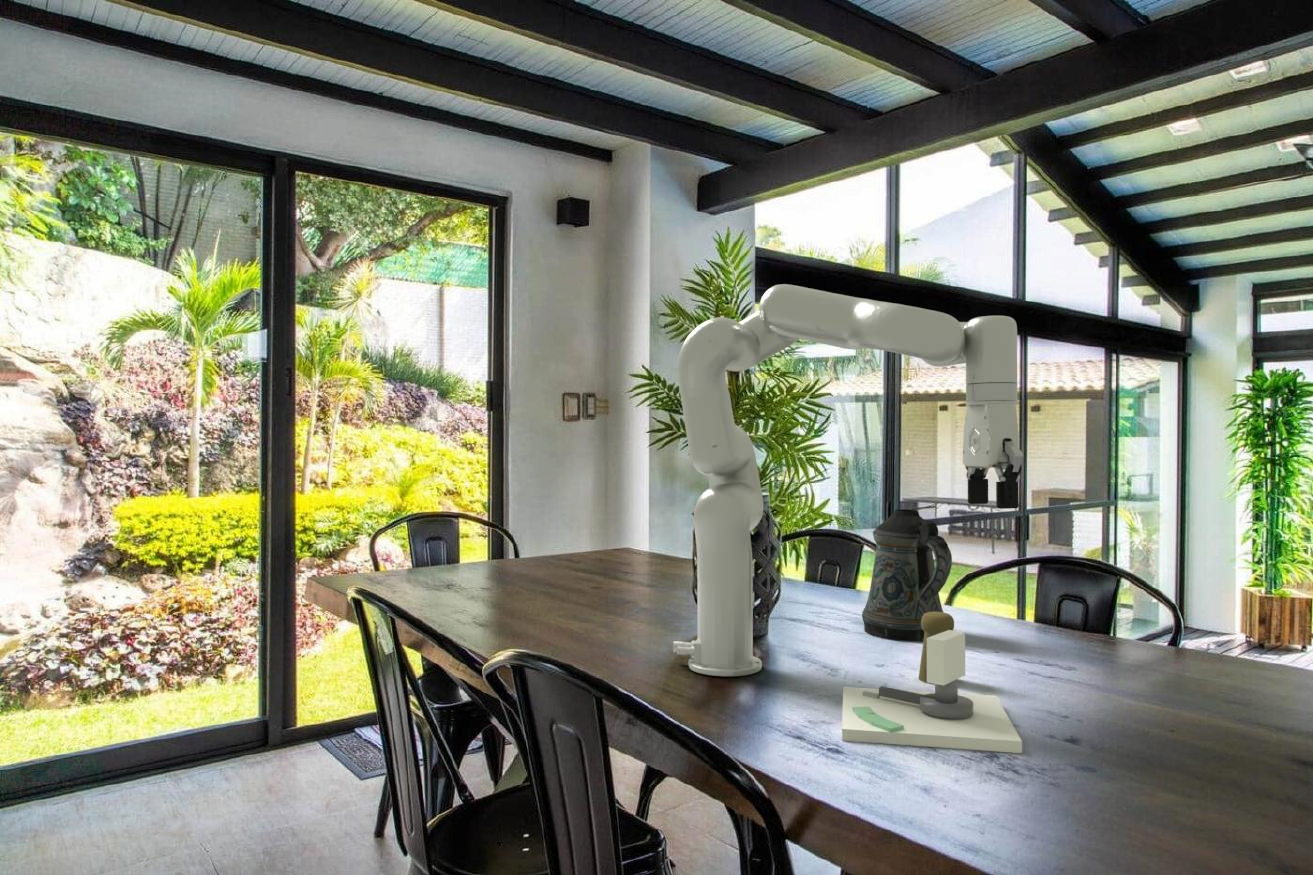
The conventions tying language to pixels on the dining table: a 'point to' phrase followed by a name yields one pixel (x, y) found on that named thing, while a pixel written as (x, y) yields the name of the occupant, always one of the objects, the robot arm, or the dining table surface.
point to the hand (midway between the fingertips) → (992, 505)
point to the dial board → (926, 723)
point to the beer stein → (905, 576)
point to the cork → (932, 626)
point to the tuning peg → (940, 678)
